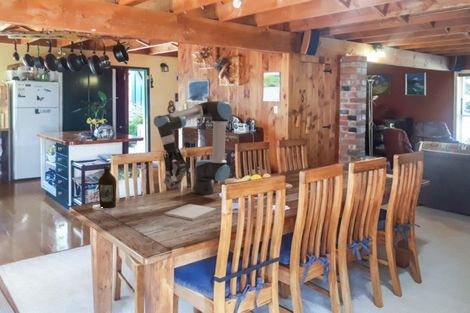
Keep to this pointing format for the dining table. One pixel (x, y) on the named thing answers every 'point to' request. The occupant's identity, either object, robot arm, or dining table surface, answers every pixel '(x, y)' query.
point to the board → (190, 211)
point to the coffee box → (176, 173)
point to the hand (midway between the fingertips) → (179, 178)
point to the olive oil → (107, 189)
